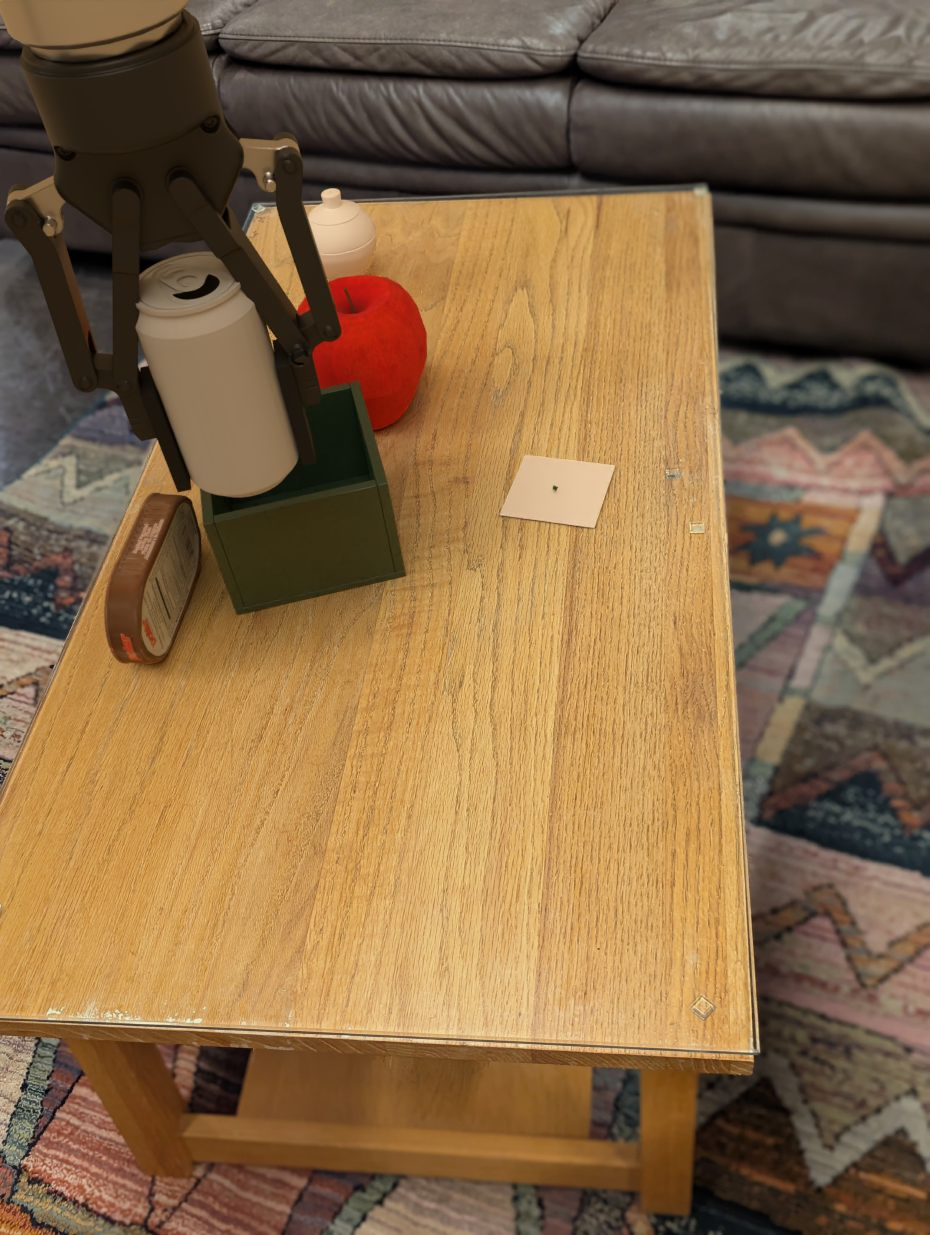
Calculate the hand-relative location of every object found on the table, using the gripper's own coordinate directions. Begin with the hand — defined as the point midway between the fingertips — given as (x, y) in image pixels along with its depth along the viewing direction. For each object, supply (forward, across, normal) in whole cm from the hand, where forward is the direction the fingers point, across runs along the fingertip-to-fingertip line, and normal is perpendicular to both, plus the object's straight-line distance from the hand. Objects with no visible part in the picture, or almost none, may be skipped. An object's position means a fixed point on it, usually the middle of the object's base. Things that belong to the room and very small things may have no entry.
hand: (245, 462), depth 61 cm
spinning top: (+22, -10, -54) cm, 59 cm away
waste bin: (+22, -1, -18) cm, 28 cm away
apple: (+22, -9, -33) cm, 41 cm away
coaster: (+22, -22, -17) cm, 36 cm away
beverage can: (+1, 0, 0) cm, 1 cm away
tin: (+22, +10, -12) cm, 28 cm away
